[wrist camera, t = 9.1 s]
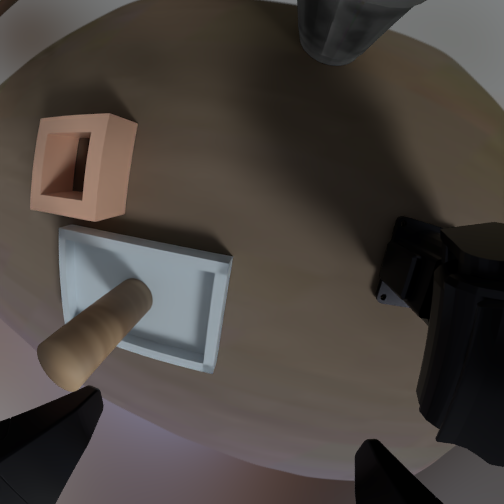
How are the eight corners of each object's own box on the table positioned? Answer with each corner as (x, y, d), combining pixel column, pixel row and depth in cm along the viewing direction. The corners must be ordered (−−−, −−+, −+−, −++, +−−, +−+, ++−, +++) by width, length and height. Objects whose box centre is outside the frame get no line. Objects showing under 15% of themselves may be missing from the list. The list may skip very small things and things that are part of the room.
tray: (233, 256, 19) (229, 263, 18) (216, 360, 22) (212, 373, 20) (72, 224, 20) (58, 227, 18) (75, 318, 22) (65, 326, 20)
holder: (137, 123, 18) (109, 113, 14) (124, 213, 19) (95, 221, 15) (71, 124, 18) (40, 118, 14) (61, 203, 20) (30, 209, 16)
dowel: (153, 283, 20) (74, 355, 10) (152, 318, 21) (84, 399, 11) (119, 274, 20) (32, 334, 10) (119, 308, 21) (44, 378, 11)
